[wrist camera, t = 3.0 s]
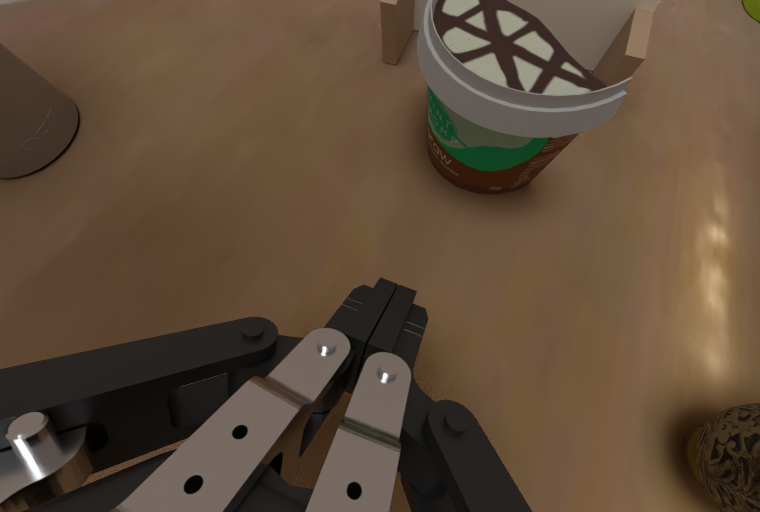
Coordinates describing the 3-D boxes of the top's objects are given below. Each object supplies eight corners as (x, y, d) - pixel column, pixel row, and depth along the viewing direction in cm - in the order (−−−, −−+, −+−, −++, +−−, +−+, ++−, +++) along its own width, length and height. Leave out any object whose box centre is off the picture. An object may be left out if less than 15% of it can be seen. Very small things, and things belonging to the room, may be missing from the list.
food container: (381, 125, 26) (372, -10, 17) (442, 90, 27) (467, -57, 17) (475, 241, 22) (531, 154, 13) (542, 197, 23) (642, 85, 14)
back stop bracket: (383, 62, 28) (379, -14, 22) (407, 15, 30) (409, -67, 24) (598, 115, 25) (656, 44, 19) (611, 60, 27) (668, -21, 21)
